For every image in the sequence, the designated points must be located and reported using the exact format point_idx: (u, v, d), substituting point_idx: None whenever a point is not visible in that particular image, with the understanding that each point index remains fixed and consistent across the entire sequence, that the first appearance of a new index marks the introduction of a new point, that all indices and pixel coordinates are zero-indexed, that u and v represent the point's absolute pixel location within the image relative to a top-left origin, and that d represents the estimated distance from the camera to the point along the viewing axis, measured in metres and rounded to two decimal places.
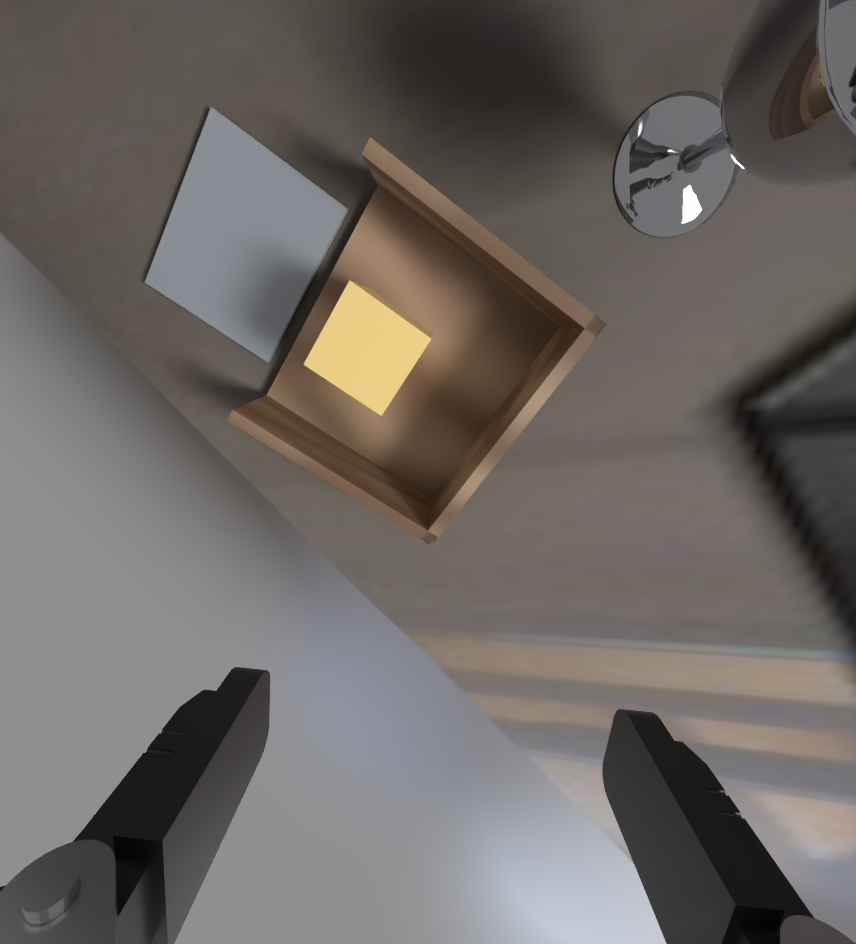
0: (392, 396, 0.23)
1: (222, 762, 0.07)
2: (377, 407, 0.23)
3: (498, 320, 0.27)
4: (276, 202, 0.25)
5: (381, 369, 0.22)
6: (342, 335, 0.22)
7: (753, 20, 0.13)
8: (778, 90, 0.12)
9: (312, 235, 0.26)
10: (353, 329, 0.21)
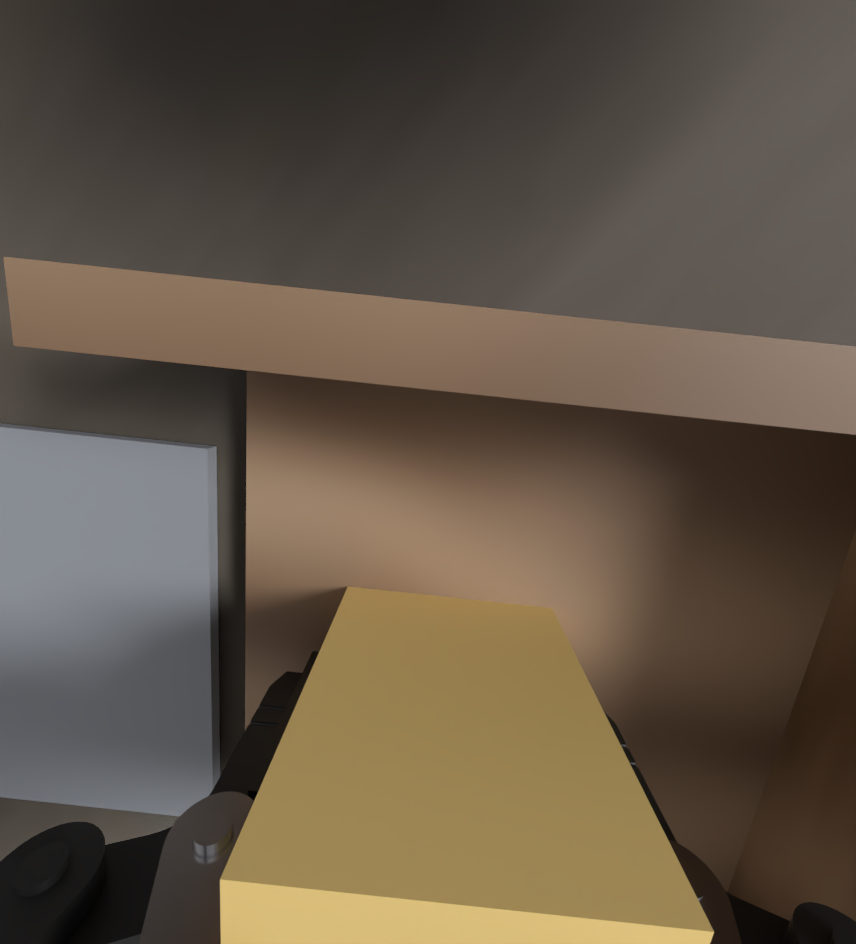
0: None
1: None
2: None
3: (703, 501, 0.09)
4: (56, 518, 0.10)
5: None
6: None
7: None
8: None
9: (165, 542, 0.10)
10: None
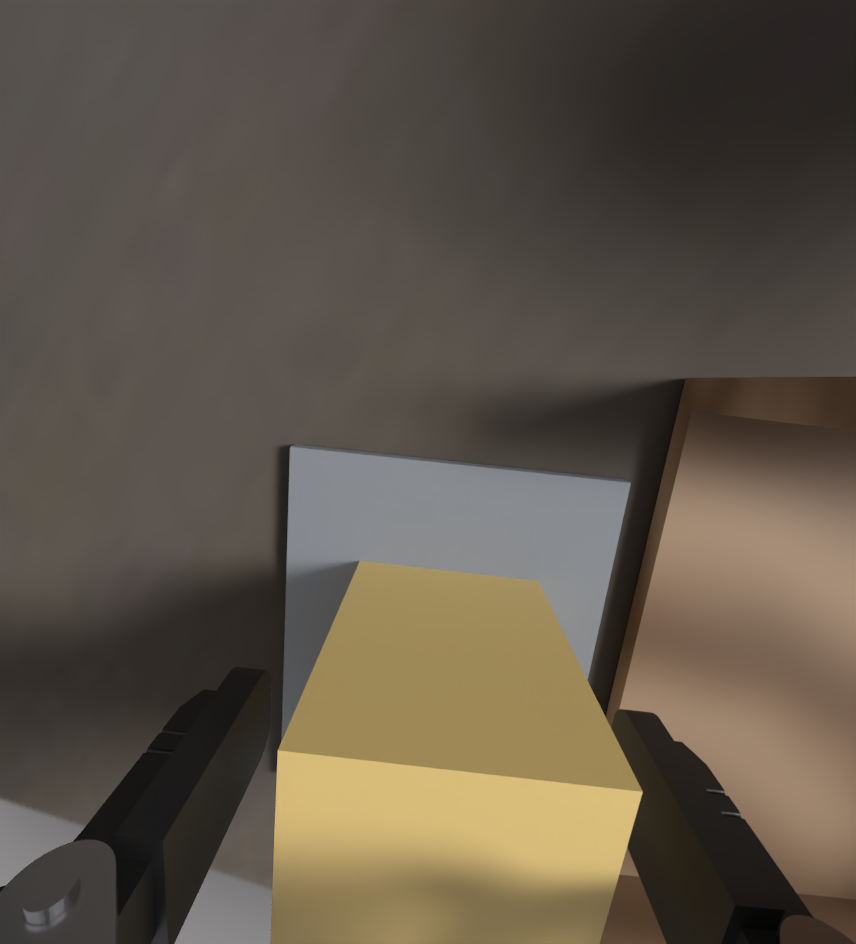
0: None
1: (222, 762, 0.07)
2: None
3: None
4: (479, 543, 0.11)
5: (512, 929, 0.06)
6: (342, 896, 0.06)
7: None
8: None
9: (573, 564, 0.11)
10: (365, 867, 0.06)
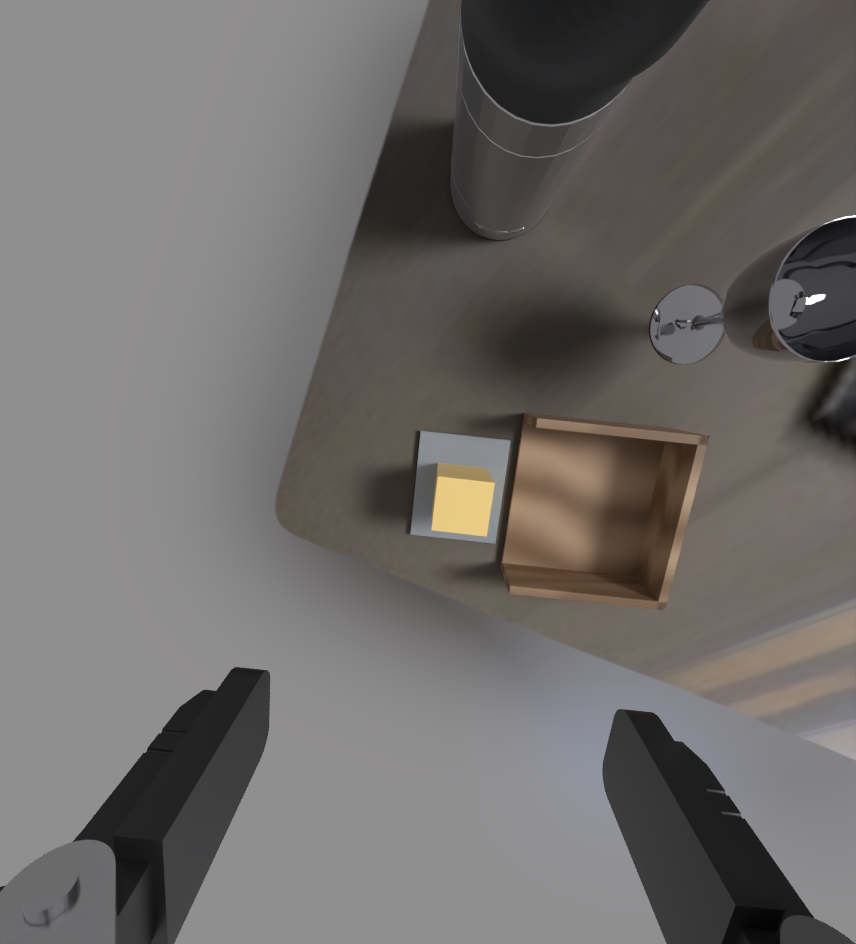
0: (487, 523, 0.36)
1: (221, 762, 0.07)
2: (482, 533, 0.37)
3: (626, 452, 0.41)
4: (470, 457, 0.41)
5: (475, 511, 0.36)
6: (446, 505, 0.36)
7: (734, 320, 0.28)
8: (768, 350, 0.26)
9: (496, 463, 0.41)
10: (450, 498, 0.36)
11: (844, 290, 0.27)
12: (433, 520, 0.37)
